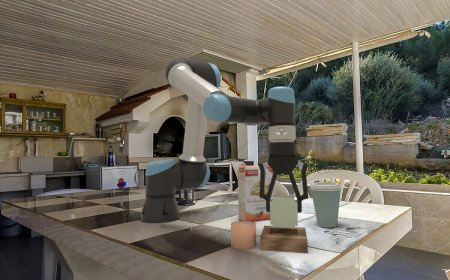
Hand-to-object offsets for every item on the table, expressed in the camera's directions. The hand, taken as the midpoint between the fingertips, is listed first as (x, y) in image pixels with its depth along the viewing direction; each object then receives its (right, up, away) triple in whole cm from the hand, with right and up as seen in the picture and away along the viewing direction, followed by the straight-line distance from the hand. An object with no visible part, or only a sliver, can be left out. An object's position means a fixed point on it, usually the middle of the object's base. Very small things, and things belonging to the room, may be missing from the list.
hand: (284, 223), depth 80 cm
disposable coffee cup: (+19, -7, +21) cm, 29 cm away
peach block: (-11, -6, -1) cm, 13 cm away
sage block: (0, 0, 0) cm, 0 cm away
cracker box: (-4, -8, +31) cm, 33 cm away
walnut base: (0, -6, 0) cm, 6 cm away
